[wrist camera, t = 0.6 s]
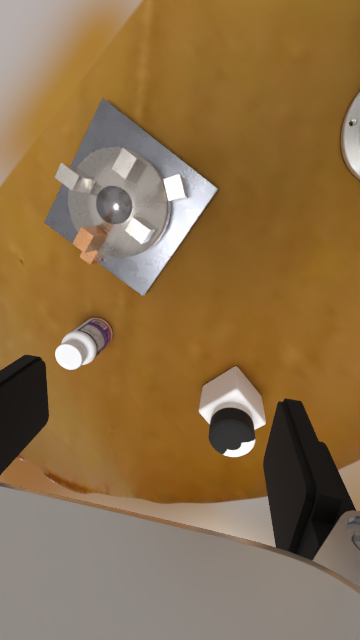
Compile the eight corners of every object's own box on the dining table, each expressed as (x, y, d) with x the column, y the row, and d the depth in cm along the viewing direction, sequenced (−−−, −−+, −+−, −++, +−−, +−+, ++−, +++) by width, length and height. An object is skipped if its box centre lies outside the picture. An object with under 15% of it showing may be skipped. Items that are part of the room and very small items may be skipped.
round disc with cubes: (108, 129, 36) (81, 109, 29) (190, 193, 37) (181, 188, 30) (58, 230, 41) (26, 232, 35) (130, 284, 42) (112, 296, 36)
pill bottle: (90, 348, 50) (59, 377, 41) (79, 320, 48) (44, 343, 39) (118, 342, 48) (91, 370, 39) (107, 313, 47) (77, 335, 38)
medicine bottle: (202, 385, 48) (193, 435, 37) (236, 364, 46) (237, 410, 35) (227, 415, 50) (226, 471, 38) (262, 395, 47) (271, 450, 36)
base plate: (109, 104, 37) (89, 84, 32) (218, 190, 38) (216, 185, 33) (52, 222, 43) (27, 222, 38) (147, 293, 45) (135, 302, 39)
